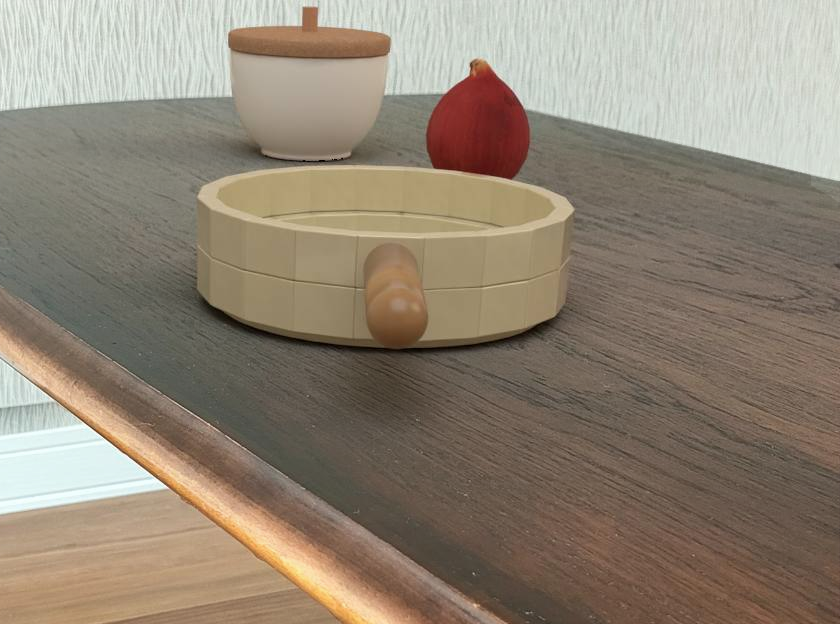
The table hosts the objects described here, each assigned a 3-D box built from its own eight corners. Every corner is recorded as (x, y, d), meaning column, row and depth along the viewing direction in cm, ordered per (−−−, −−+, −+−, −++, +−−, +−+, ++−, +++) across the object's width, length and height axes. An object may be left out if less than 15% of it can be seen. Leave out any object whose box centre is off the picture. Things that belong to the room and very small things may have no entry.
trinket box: (258, 137, 104) (260, -2, 101) (402, 148, 101) (410, 6, 98) (203, 159, 95) (203, 7, 91) (360, 172, 92) (367, 16, 88)
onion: (494, 192, 87) (505, 53, 84) (542, 211, 82) (556, 63, 79) (406, 196, 85) (414, 53, 82) (450, 216, 80) (461, 64, 77)
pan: (537, 265, 70) (546, 170, 68) (588, 360, 55) (601, 243, 54) (213, 255, 70) (214, 160, 68) (181, 346, 56) (180, 229, 54)
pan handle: (414, 291, 54) (418, 238, 53) (427, 357, 46) (432, 296, 46) (361, 289, 54) (364, 236, 53) (365, 355, 46) (368, 294, 46)
